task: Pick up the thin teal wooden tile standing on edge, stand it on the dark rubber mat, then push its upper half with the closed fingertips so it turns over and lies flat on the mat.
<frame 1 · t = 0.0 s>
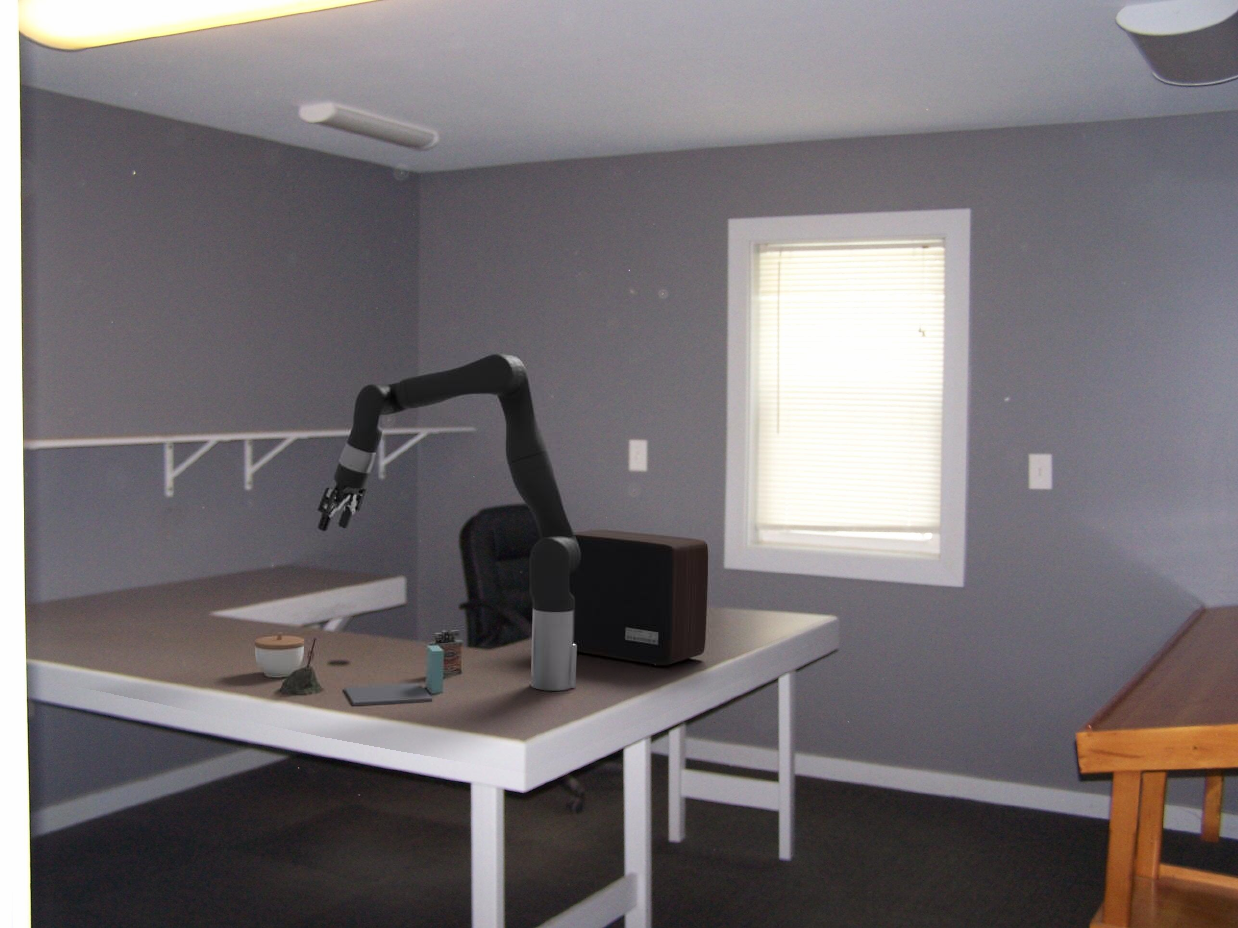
hand: (332, 528, 286), 31 cm above the table, fingers open, 8 cm apart
tile: (434, 689, 263), on the table
radio: (628, 655, 306), on the table
sword in stone: (300, 692, 259), on the table
lighter: (445, 675, 278), on the table
mat: (387, 695, 256), on the table
lidded jar: (279, 675, 273), on the table
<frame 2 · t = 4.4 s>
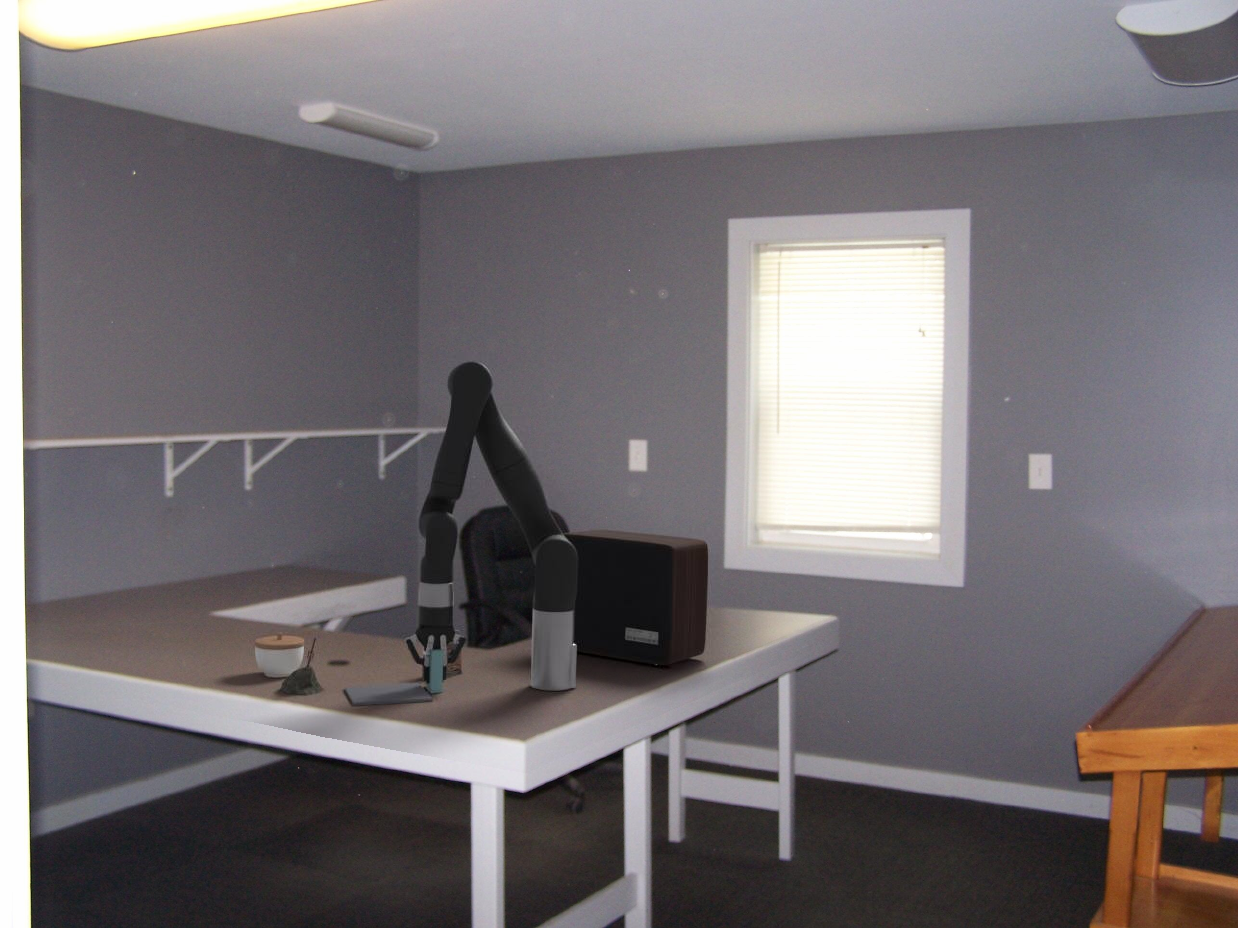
hand: (434, 682, 263), 2 cm above the table, fingers closed on tile, 2 cm apart
tile: (433, 689, 263), on the table, touching gripper
everything else where it was.
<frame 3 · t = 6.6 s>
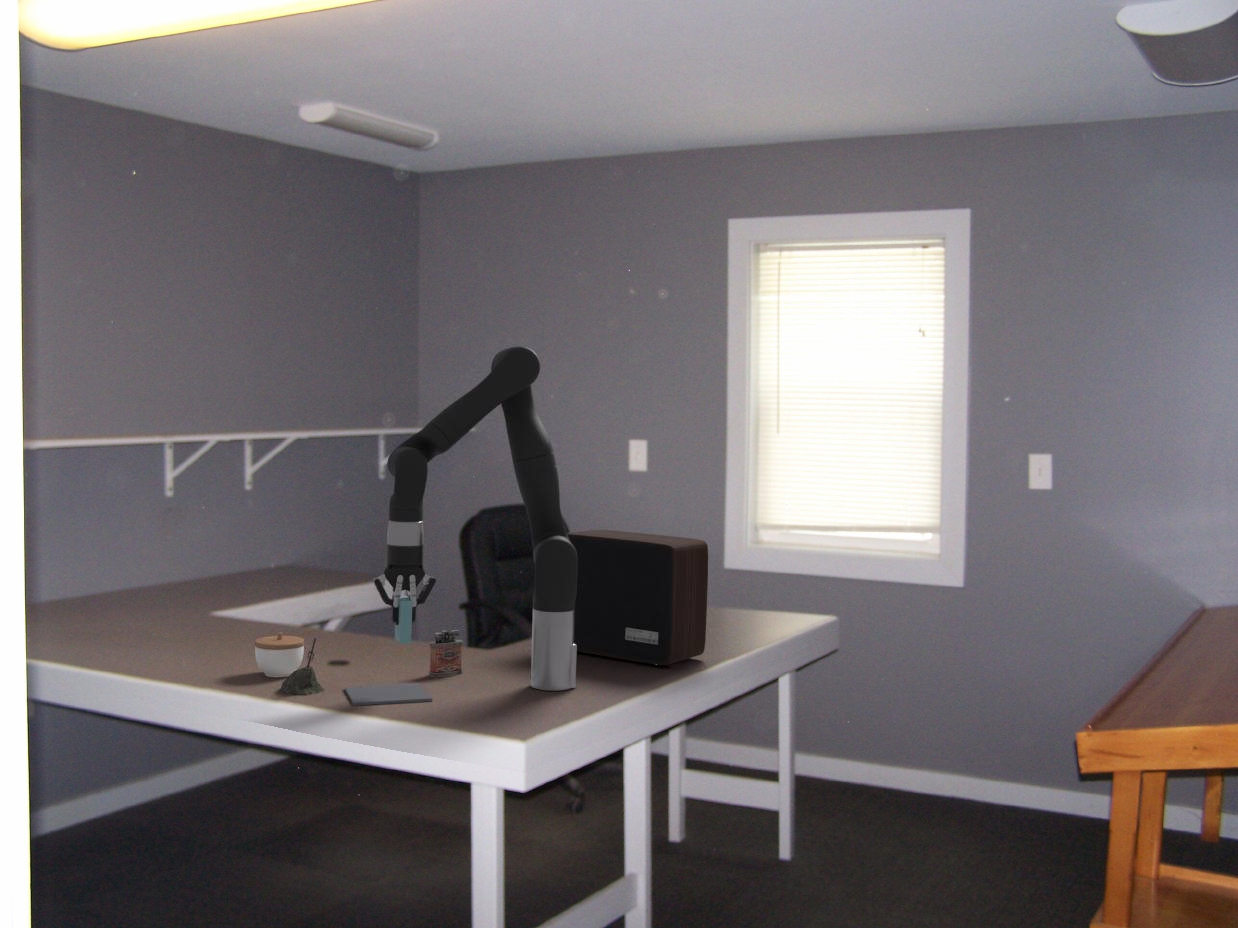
hand: (403, 623, 257), 15 cm above the table, fingers closed on tile
tile: (402, 640, 257), point 11 cm above the table, touching gripper
everything else where it was.
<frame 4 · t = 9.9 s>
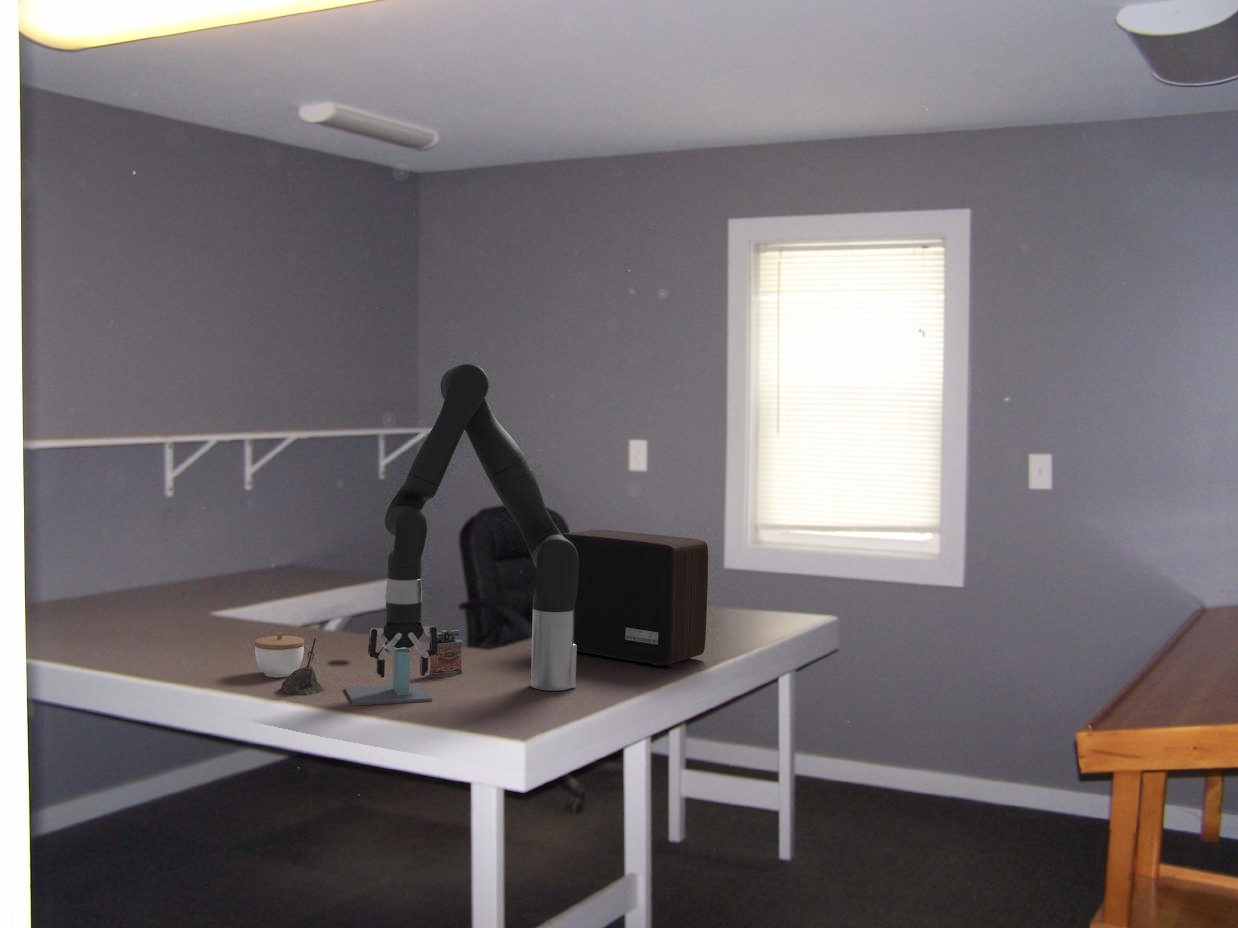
hand: (402, 675, 257), 4 cm above the table, fingers open, 8 cm apart
tile: (400, 691, 258), point 1 cm above the table, touching mat
everything else where it was.
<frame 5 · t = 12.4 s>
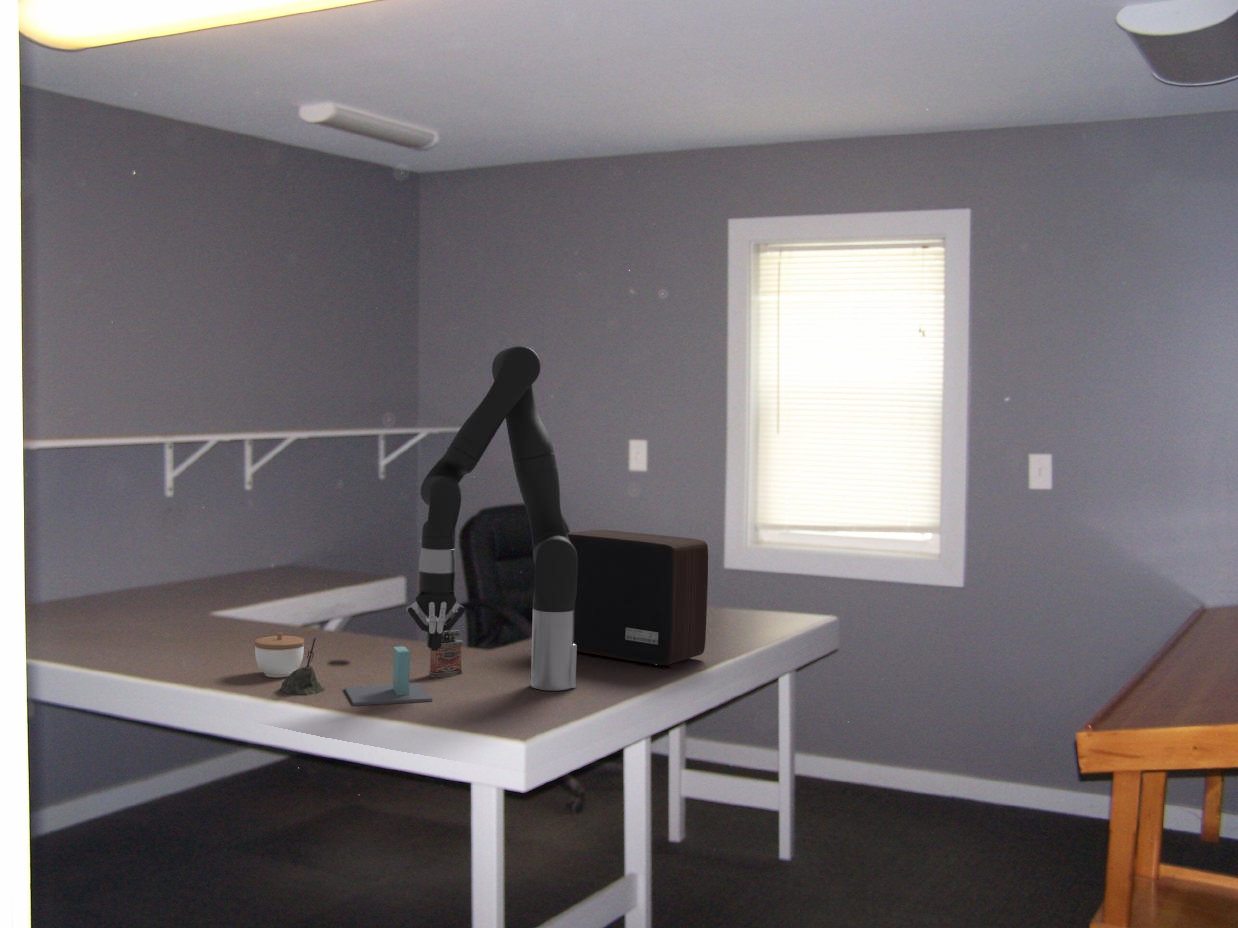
hand: (434, 650, 260), 9 cm above the table, fingers closed
nothing on the table moved.
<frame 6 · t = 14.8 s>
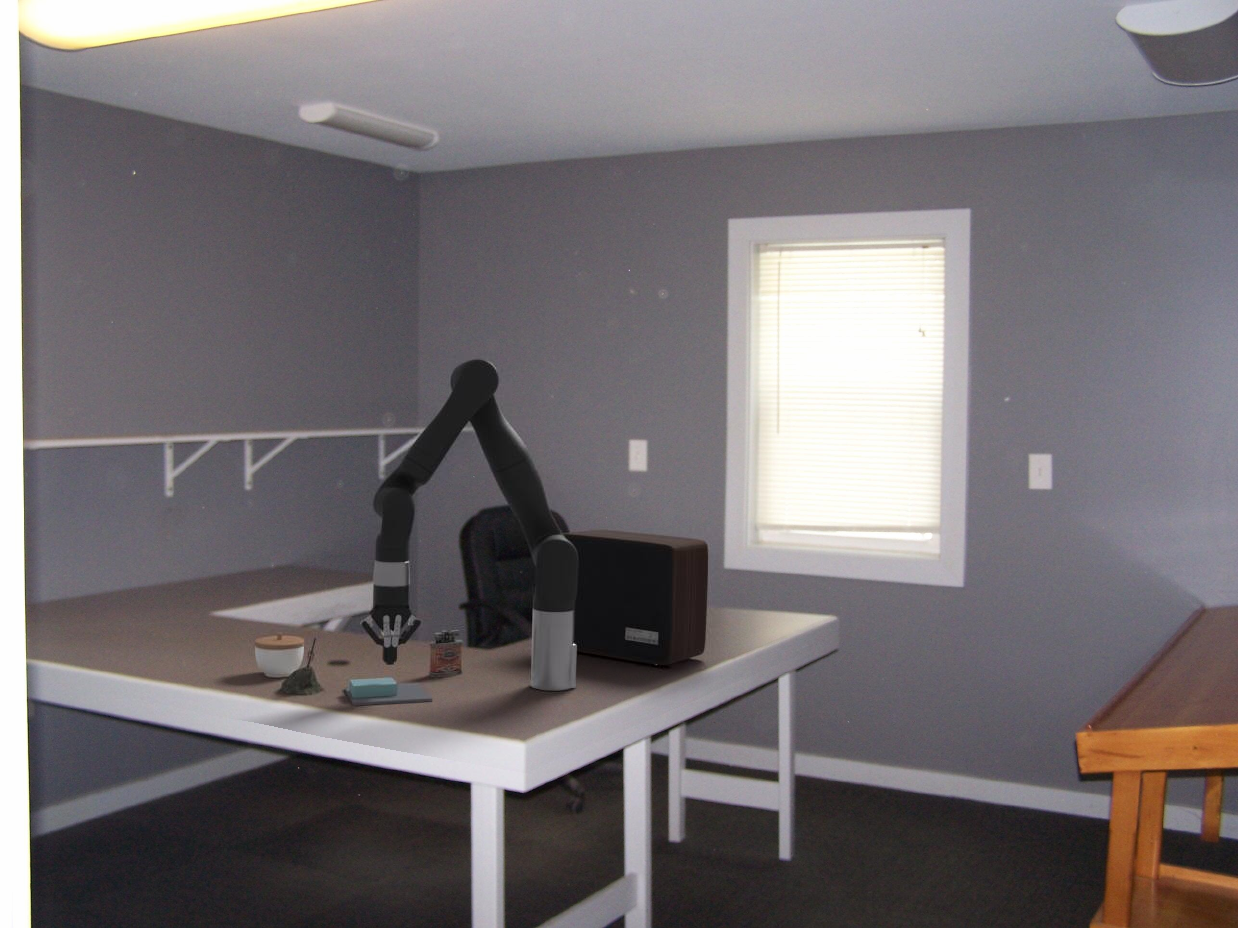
hand: (389, 663, 256), 7 cm above the table, fingers closed
tile: (394, 686, 257), point 2 cm above the table, tilted 90°, touching mat
everything else where it was.
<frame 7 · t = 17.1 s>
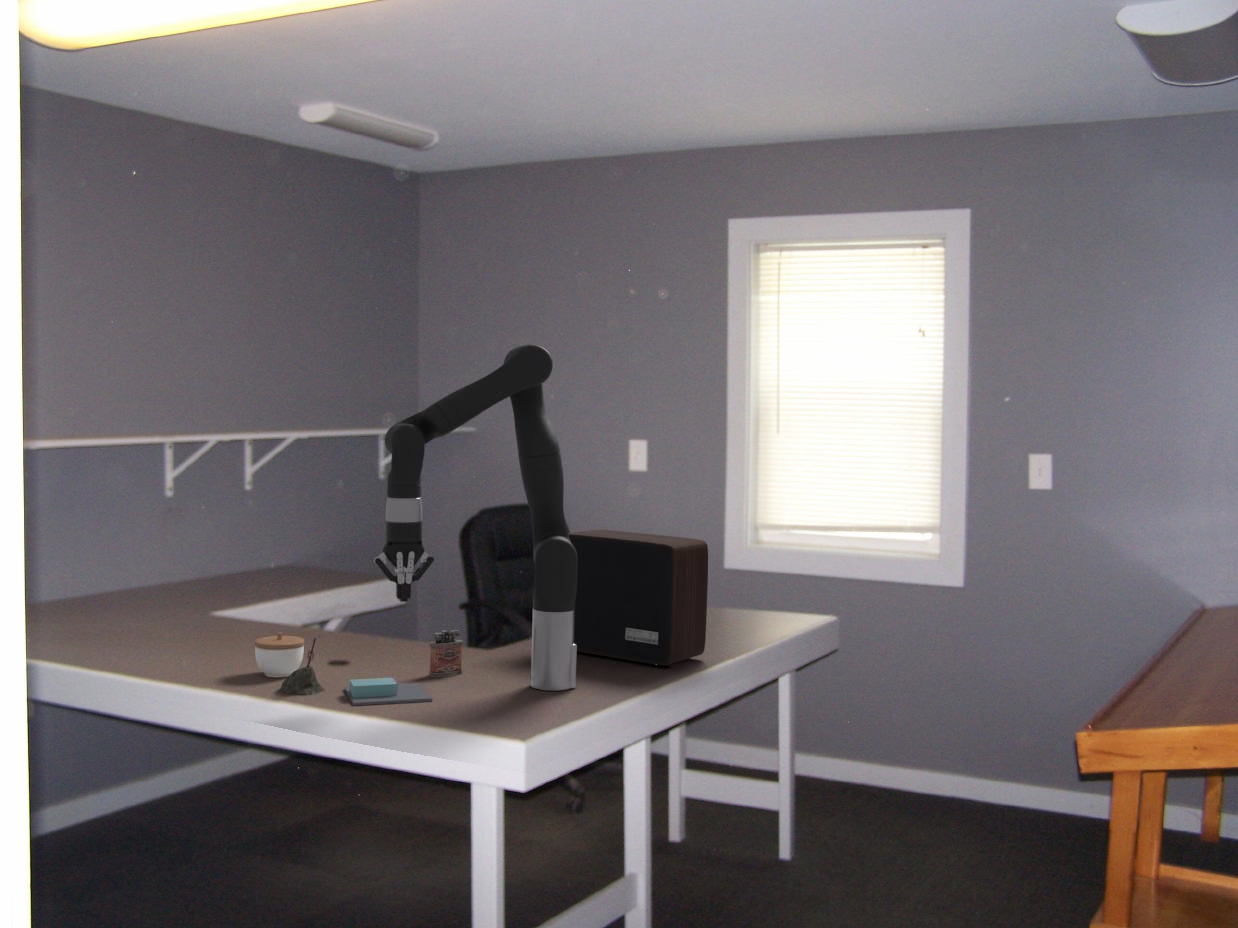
hand: (403, 600, 256), 20 cm above the table, fingers closed
nothing on the table moved.
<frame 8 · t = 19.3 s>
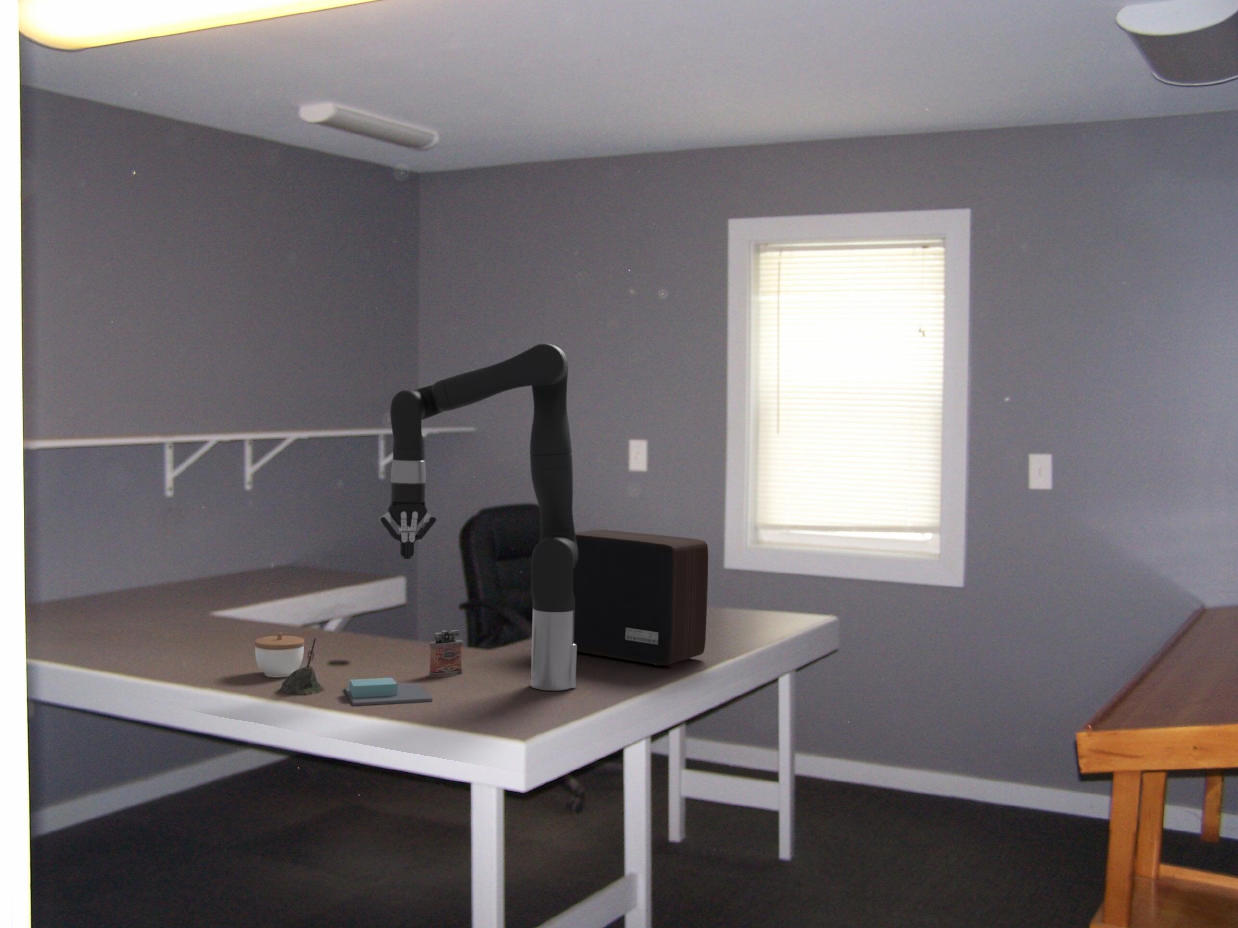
hand: (406, 558, 270), 27 cm above the table, fingers closed
nothing on the table moved.
at the end: tile tilted 90°; tile inside the target area (2.0 cm from its centre), point 1.8 cm above the table; the gripper is holding nothing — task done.
